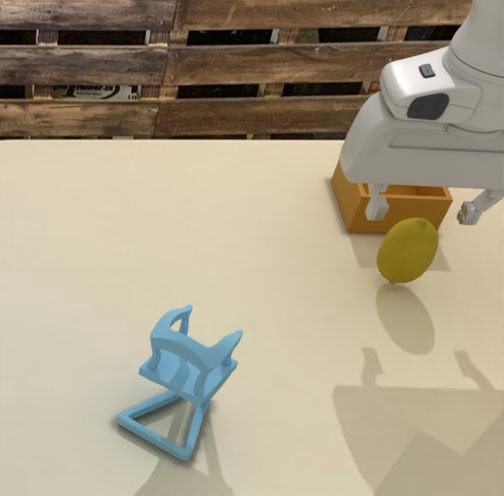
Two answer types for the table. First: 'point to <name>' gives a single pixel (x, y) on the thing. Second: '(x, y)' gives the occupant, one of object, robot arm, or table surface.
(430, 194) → the ochre bin
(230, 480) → the table surface
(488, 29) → the robot arm
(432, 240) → the lemon
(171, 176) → the table surface
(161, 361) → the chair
